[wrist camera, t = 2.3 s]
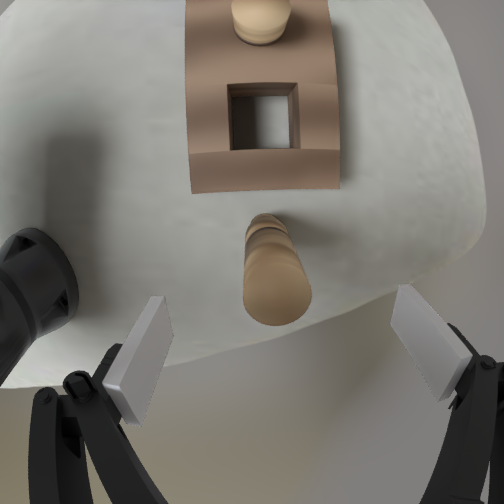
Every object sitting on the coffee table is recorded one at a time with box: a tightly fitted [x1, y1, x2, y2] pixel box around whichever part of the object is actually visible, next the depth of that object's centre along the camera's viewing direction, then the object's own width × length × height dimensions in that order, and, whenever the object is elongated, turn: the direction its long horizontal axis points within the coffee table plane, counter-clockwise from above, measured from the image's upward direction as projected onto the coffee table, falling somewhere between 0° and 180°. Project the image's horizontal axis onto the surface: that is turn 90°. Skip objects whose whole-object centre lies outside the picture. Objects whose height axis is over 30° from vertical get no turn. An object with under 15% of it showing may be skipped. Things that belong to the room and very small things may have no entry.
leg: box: [243, 214, 312, 326], centre depth 22 cm, size 4×4×14 cm
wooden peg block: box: [185, 0, 340, 194], centre depth 19 cm, size 18×12×10 cm, turn 2°
